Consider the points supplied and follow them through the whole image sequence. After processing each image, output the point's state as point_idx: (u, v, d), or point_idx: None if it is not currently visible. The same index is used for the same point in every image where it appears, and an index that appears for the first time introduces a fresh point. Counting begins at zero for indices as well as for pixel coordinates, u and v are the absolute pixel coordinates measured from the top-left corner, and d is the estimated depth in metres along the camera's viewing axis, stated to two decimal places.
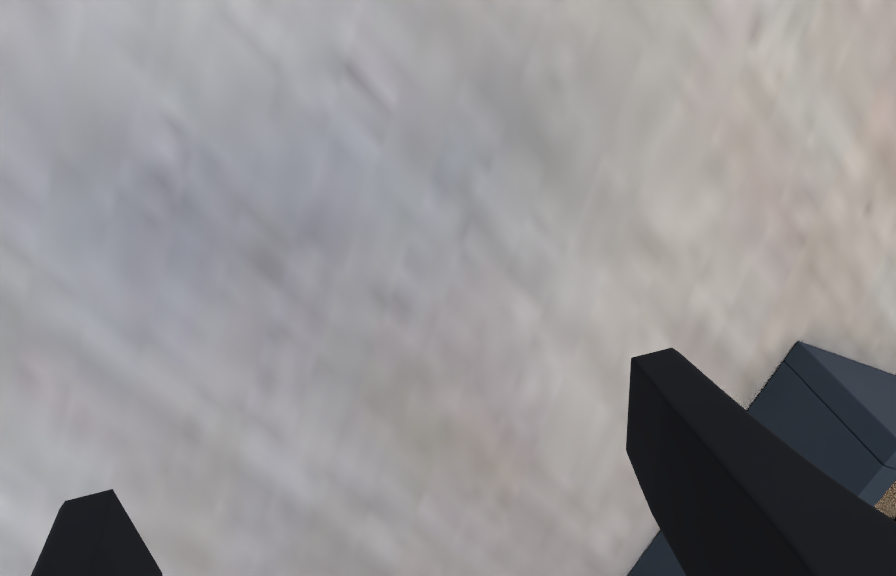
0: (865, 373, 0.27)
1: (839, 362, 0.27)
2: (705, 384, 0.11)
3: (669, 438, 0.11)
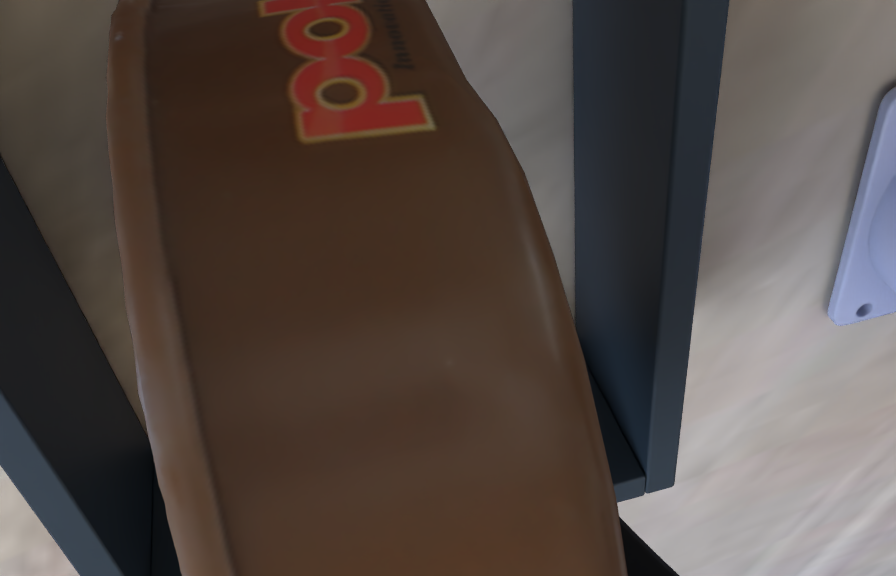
0: None
1: None
2: None
3: None
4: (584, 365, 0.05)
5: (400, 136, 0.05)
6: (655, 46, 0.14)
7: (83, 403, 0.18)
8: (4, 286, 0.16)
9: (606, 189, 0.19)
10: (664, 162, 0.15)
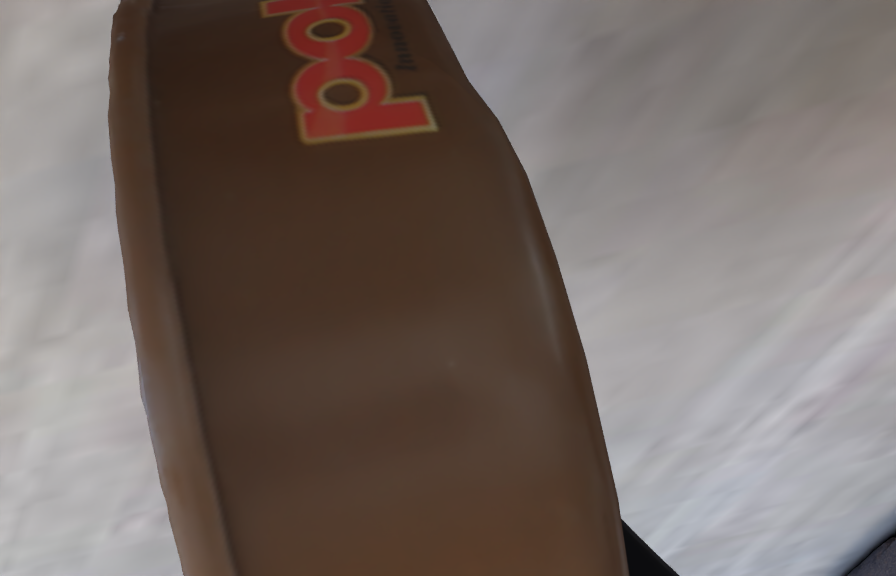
0: None
1: None
2: None
3: None
4: (586, 366, 0.05)
5: (404, 136, 0.05)
6: None
7: None
8: None
9: None
10: None
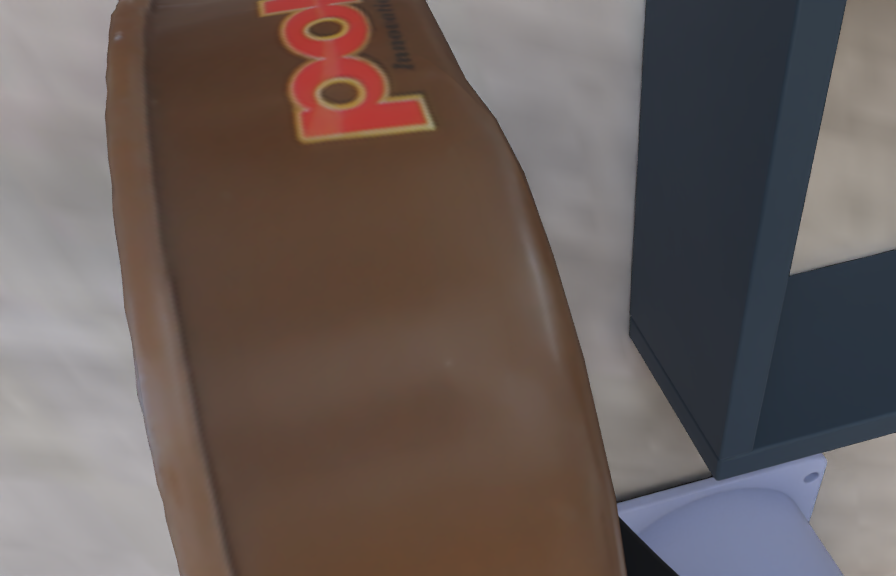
0: None
1: None
2: None
3: None
4: (584, 365, 0.05)
5: (400, 136, 0.05)
6: None
7: None
8: None
9: None
10: None
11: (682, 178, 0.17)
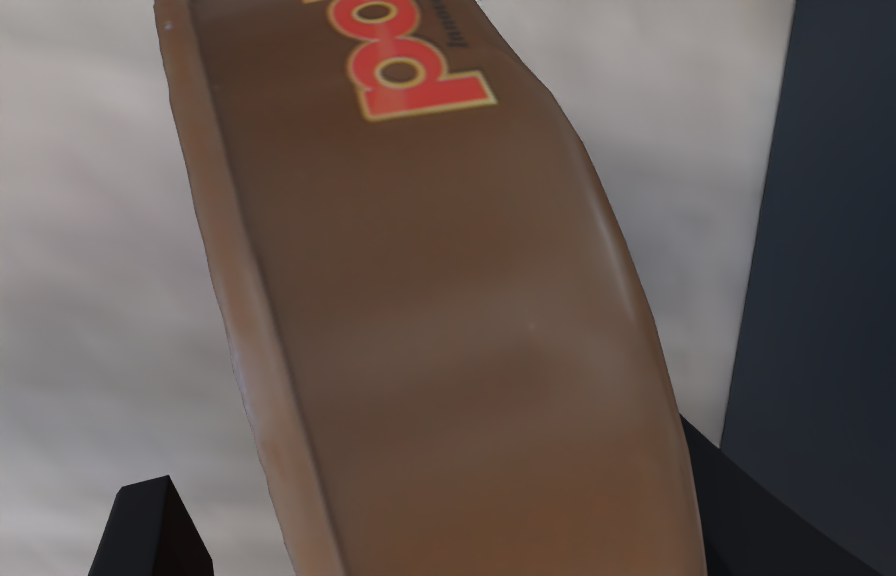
0: None
1: None
2: None
3: None
4: (654, 325, 0.05)
5: (463, 111, 0.05)
6: None
7: None
8: None
9: None
10: None
11: (821, 343, 0.13)
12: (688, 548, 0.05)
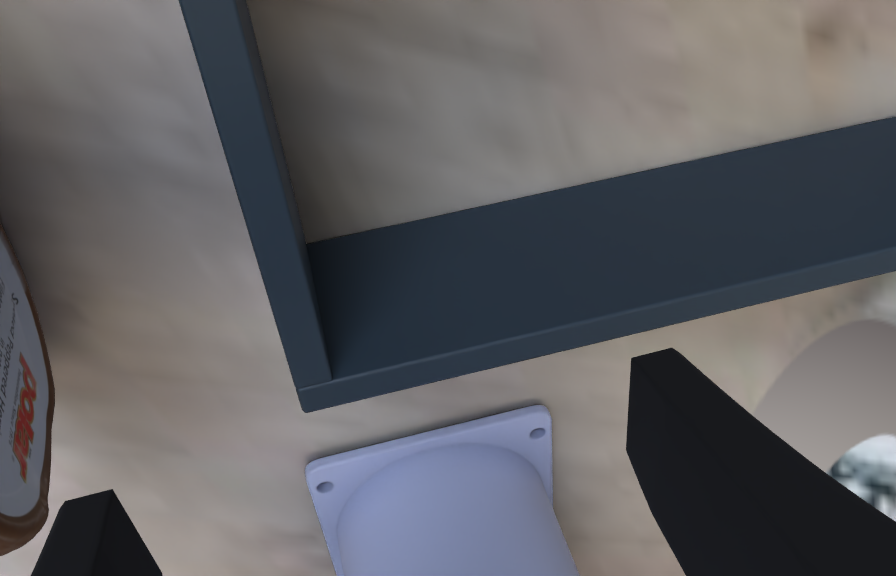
0: None
1: None
2: (705, 384, 0.11)
3: (669, 438, 0.11)
4: None
5: None
6: (783, 246, 0.20)
7: None
8: None
9: (581, 235, 0.21)
10: (720, 281, 0.19)
11: None
12: None
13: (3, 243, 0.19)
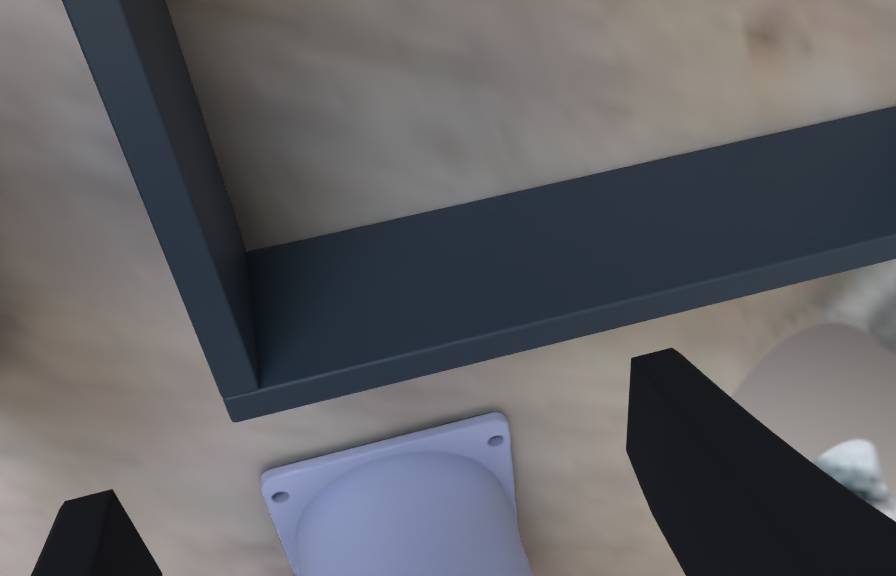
0: None
1: None
2: (704, 384, 0.11)
3: (669, 438, 0.11)
4: None
5: None
6: (721, 250, 0.20)
7: None
8: None
9: (519, 240, 0.21)
10: (655, 286, 0.19)
11: None
12: None
13: None
